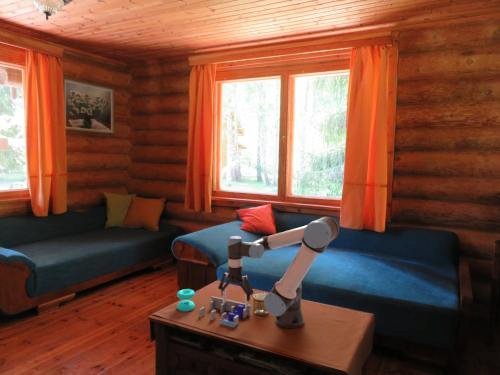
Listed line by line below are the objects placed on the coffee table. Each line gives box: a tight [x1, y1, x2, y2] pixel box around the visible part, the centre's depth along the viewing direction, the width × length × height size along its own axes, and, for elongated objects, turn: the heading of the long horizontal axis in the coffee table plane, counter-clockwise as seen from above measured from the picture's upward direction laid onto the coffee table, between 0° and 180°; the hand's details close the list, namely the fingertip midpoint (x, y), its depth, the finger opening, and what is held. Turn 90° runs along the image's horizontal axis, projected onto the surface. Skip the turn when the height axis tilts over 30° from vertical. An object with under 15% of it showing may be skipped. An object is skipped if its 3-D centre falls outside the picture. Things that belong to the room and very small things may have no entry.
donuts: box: [176, 288, 196, 312], centre depth 208 cm, size 10×10×10 cm
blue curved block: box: [227, 305, 244, 322], centre depth 196 cm, size 12×4×6 cm, turn 153°
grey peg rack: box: [198, 295, 252, 328], centre depth 199 cm, size 25×16×6 cm, turn 64°
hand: (235, 304), depth 195 cm, fingers open, 13 cm apart
